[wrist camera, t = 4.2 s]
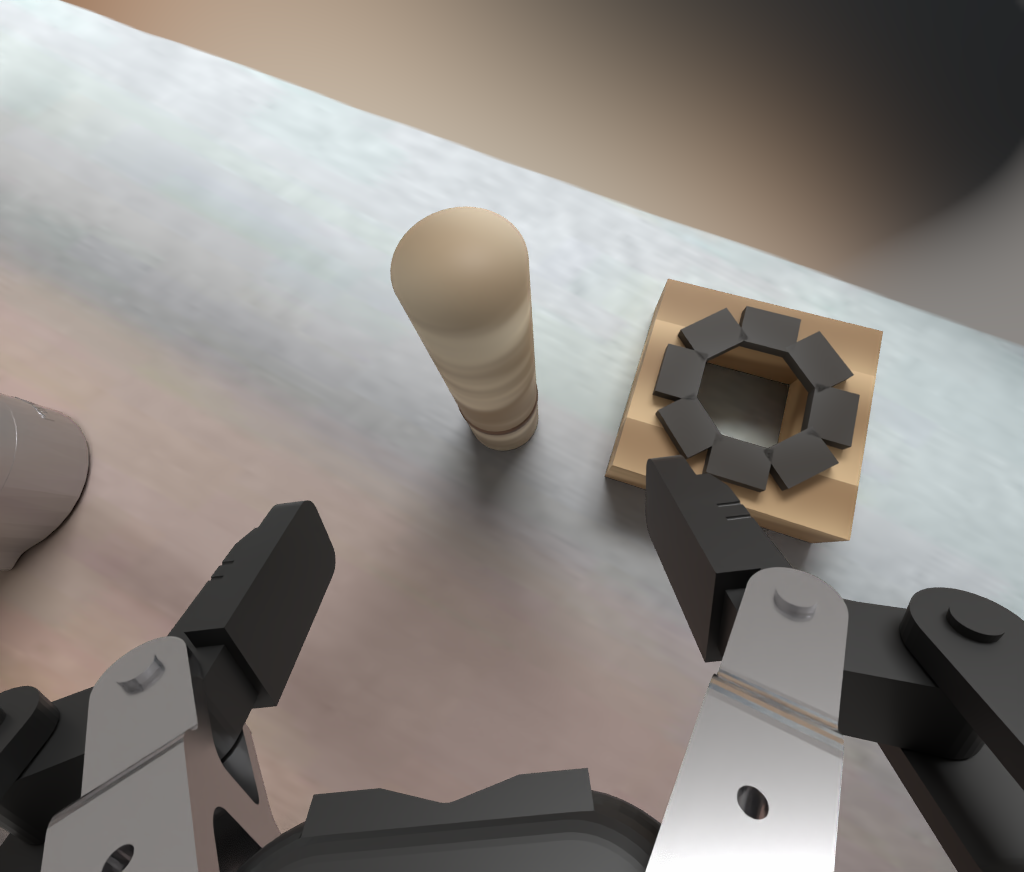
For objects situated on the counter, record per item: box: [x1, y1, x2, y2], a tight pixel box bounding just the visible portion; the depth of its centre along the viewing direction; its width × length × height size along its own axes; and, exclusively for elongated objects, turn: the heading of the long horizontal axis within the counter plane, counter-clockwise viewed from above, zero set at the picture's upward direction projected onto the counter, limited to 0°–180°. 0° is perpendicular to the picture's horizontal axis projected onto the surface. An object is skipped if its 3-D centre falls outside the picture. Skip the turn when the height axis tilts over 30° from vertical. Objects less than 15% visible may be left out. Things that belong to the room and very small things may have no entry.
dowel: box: [390, 207, 538, 451], centre depth 20 cm, size 4×4×14 cm
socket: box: [605, 279, 883, 543], centre depth 24 cm, size 11×11×4 cm
